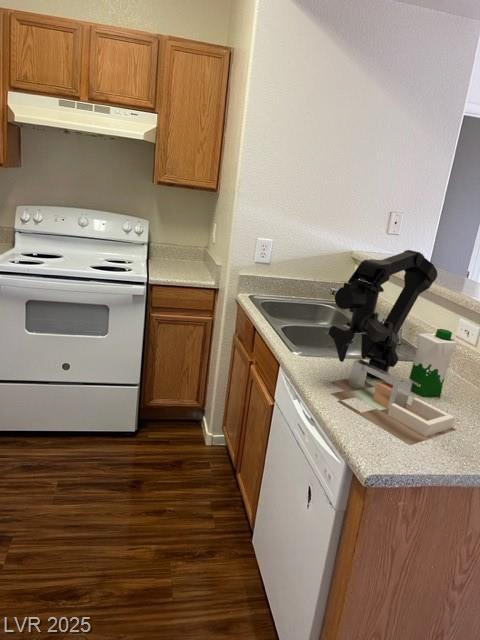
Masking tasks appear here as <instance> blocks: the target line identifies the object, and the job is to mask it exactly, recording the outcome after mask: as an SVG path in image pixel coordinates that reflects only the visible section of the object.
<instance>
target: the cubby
mask: <svg viewBox="0 0 480 640" xmlns="http://www.w3.org/2000/svg"><path fill="white" fill-rule="evenodd" d="M410 405H411V410H413V411H415V412H417V413H419V414H421V415H423V416H424V417H426V418H428V419H430V420H429V421H426V420H424V419H422V418H421V417H419V416H417V415H415V414H413V413H411V412H410V411H408V410H406V409H404V408H402V407H400V406H398V405H397V404H395V403H393V404H390V408H389V412H388V415H389V416H390V417H392V418H394V419H396V420H397V421H399V422H401V423H403V424H405V425H406V426H408V427H410V428H412V429H413V430H415V431H417V432H419V433H420V434H422V435H424V436H429V435H432V434H435V433H438V432H441V431H444V430H447V429H451V428H453V425H454V422H455V418H456V417H455V416H453V415H452V414H449V413H447V412H446V411H443V410H442V409H439V408H438V407H435V406H433V405H431V404H429V403H428V402H426V401H423V400H422V399H419V398H418V397H415V398H412V402H411V404H410Z"/></svg>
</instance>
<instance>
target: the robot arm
mask: <svg viewBox="0 0 480 640" xmlns="http://www.w3.org/2000/svg"><path fill="white" fill-rule="evenodd" d="M402 271H403V272H404V274H403V275H404V276H403V282H404V285H403V288H402V290H401V292H400V293H399V295H398V297H397V299H396V300H395V303H394V304H393V306H392V308H391V309H390V311H389V313H388V314H387V316H386V318H385V320H384V322H383V321H379V320H378V317H379V315H378V313H377V312H376V307H377V304H378V300H379V299H378V298H379V295H380V293H384V291H385V290H384V288H383V287H382V285H384V284H385V283H387V282H388V281H390V276H392V275H395V274H398V273H400V272H402ZM437 277H438V271H437V269H436V266H435V265H434V264H433V263H432V262H431V261H430V260H428V259H427V258H426V257H425V256H424V254H423V253H421V252H419V251H416V250H412V249H406V250H404V251H403V252H400V253H398V254H395V255H393V256H389V257H386V258H384V259H364V260H362V261H361V262H360V264H359V265H358V266H357V267H356V269H355V271H354V272H353V273H352V275H351V276H350V278H349V280H348V281H347V282H344V283H343V287H340V288H338V289H337V291H336V293H335V294H334V301H335V304H336V306H337V307H338V308H339V309H342V310H349V313H351V317H350V321H346V326H345V325H343V324H332V325H331V326H330V327H329V328H328V332H327V335H328V336H329V337H330V338H331V339H332V340H333V342H334V345H335V348H336V352H337V356H338V360H339V362H341V363H344V361H345V359H346V356H347V353H348V348H349V346H350V345H352V344H353V343H354V341H353V340H354V338H355V336H359V335H360V336H361V342H360V343H361V349H360V350H361V351H360V355H361V356H360V357H361V359H362V360H365V359H366V358H367V359H369V360H368V363H369V364H370V365H372V366H374V367H376V368H378V369H381V370H383V371H385V372H387V373H389V369H390V367H392V368H395V366H397V364H398V362H399V356H398V353H397V351H396V349H397V347H398V337H397V335H398V334H399V332H400V330H401V328H402V326H403V324H404V323H405V321H406V319H407V317H408V315H409V314H410V312H411V310H412V308H413V306H414V305H415V303H416V302H417V300H418V297H419V296H420V295H421V294H422V293H424V292H426V291H427V290H429V289H430V287H431V286H432V285H433V283H434V282H435V281H436V279H437ZM366 377H367V378H370V379H371V380H373V379H374V380H376V379H377V380H382V379H381V378H379V377H377V376H375V375H373V374H371V373H369V372H367V375H366Z"/></svg>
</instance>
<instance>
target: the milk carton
mask: <svg viewBox="0 0 480 640" xmlns="http://www.w3.org/2000/svg"><path fill="white" fill-rule="evenodd" d="M452 335H453V332H452V331H450V330H448V329H444V328H437V330H436V333H427V332H424V333H417V343H416V344H417V345H416V346H417V347H416V350H415V351H416V352H415V355H414V359H413V363H412V366H411V371H410V373H409V377H408V380H410V381H413V382H412V386H411V390H410V392H413V393H414V394H416V395H418V397H422V398H435V397H436V398H439V399H440V398H441V395H442V391H443V385H444V382H445V378H446V375H447V373H448V372H447V371H448V368H449V366H450V361H451V358H452V356H453V354H454V351H455V349H456V348H457V345H458V342H457V341H455V340H453V339H452Z"/></svg>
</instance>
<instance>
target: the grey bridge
mask: <svg viewBox="0 0 480 640" xmlns="http://www.w3.org/2000/svg"><path fill="white" fill-rule="evenodd" d="M367 372H369V373H371V374H373V375H375V376H377V377H379V378H381V379H380V380H383V381H387V382H389V383H391V384H393V388H392V392H391V396H390V400H389V404H388V408H387V409H388V410H389V408H390V404H393V403H395V404H397V405H398V406H400V407H402V408H406V405H407V404H408V401H409V397H410V393H411V386H412V382H413V381H410V380H409V378H407V379H401V378H400V377H397V376H396V375H393V374H391V373H389V372H388V373H387V372H385V371H383V370H381V369H378V368H376V367H374V366H372V365H370V364H369V362H367V361H365V360H364V359H355V360H353V363H352V368H351V371H350V377H349V378H350V380H349V386H351V387H353V388H355V389H356V390H357V389H362V388H364V384H365V382H366V379H367V376H366V375H367Z"/></svg>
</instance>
